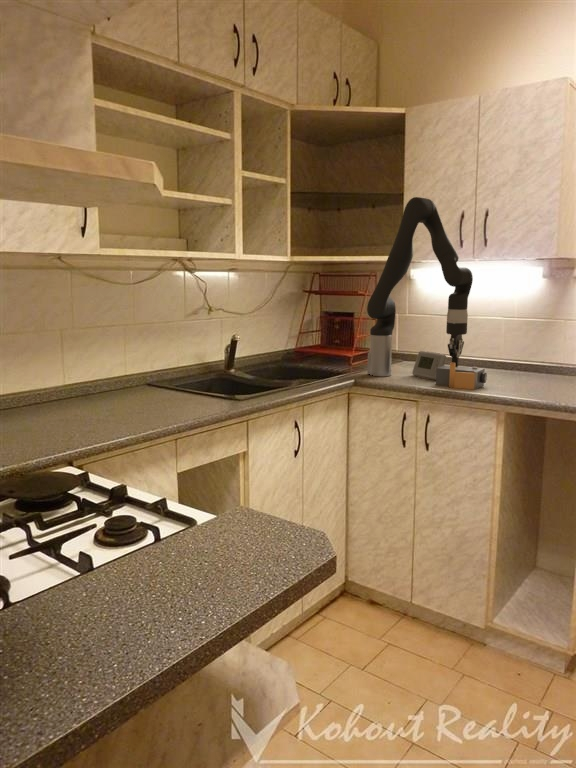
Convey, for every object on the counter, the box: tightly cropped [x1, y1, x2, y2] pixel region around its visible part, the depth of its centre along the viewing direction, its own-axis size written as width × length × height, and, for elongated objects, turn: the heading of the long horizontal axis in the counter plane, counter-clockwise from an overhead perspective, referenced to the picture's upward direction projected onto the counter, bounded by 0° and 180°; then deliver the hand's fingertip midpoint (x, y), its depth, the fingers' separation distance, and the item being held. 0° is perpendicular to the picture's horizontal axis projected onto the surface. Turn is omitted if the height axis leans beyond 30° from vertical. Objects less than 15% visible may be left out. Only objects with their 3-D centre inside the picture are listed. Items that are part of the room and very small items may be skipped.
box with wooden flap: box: [435, 364, 488, 389], centre depth 234 cm, size 18×9×7 cm, turn 57°
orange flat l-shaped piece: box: [448, 361, 478, 390], centre depth 227 cm, size 10×2×10 cm, turn 70°
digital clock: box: [411, 350, 447, 381], centre depth 251 cm, size 16×9×11 cm, turn 16°
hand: (454, 366), depth 230 cm, fingers closed
